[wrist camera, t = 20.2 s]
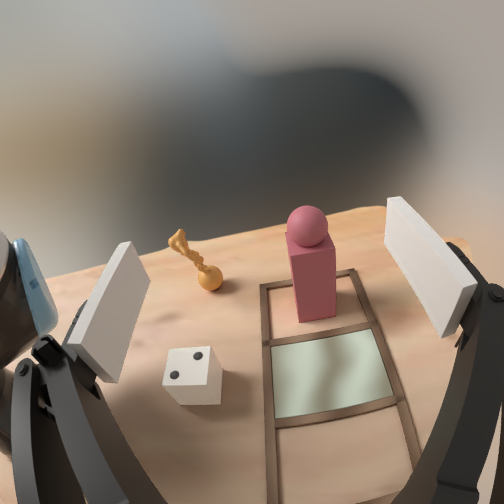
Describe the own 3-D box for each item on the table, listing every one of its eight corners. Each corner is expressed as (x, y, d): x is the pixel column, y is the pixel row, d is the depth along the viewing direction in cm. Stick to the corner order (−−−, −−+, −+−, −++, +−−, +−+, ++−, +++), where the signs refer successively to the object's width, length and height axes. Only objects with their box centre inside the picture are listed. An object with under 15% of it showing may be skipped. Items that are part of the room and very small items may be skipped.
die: (180, 405, 29) (161, 385, 26) (185, 371, 33) (169, 348, 30) (220, 404, 28) (206, 384, 25) (222, 369, 32) (210, 345, 29)
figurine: (236, 294, 43) (215, 227, 37) (202, 312, 41) (173, 247, 34) (214, 270, 50) (193, 210, 43) (184, 285, 47) (158, 226, 41)
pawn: (299, 322, 36) (285, 222, 28) (294, 297, 40) (280, 202, 32) (335, 316, 36) (333, 214, 27) (328, 291, 40) (322, 195, 31)
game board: (268, 524, 16) (267, 524, 15) (259, 286, 44) (259, 284, 43) (427, 489, 14) (428, 489, 14) (353, 270, 42) (353, 268, 42)
